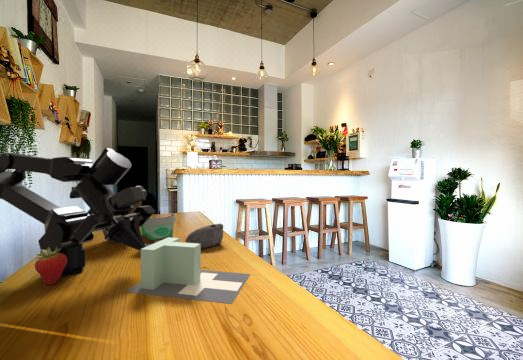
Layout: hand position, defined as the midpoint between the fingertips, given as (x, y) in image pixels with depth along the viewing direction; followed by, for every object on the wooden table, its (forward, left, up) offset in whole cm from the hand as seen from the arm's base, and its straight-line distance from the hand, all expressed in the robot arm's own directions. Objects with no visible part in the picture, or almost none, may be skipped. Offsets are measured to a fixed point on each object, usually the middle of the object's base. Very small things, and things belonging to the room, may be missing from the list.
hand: (143, 249), depth 56 cm
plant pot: (-2, +41, -7) cm, 41 cm away
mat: (+9, -9, -7) cm, 14 cm away
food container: (+9, +25, -7) cm, 27 cm away
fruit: (-17, +8, -7) cm, 20 cm away
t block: (+6, -6, -6) cm, 10 cm away
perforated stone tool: (+21, +17, -7) cm, 28 cm away
